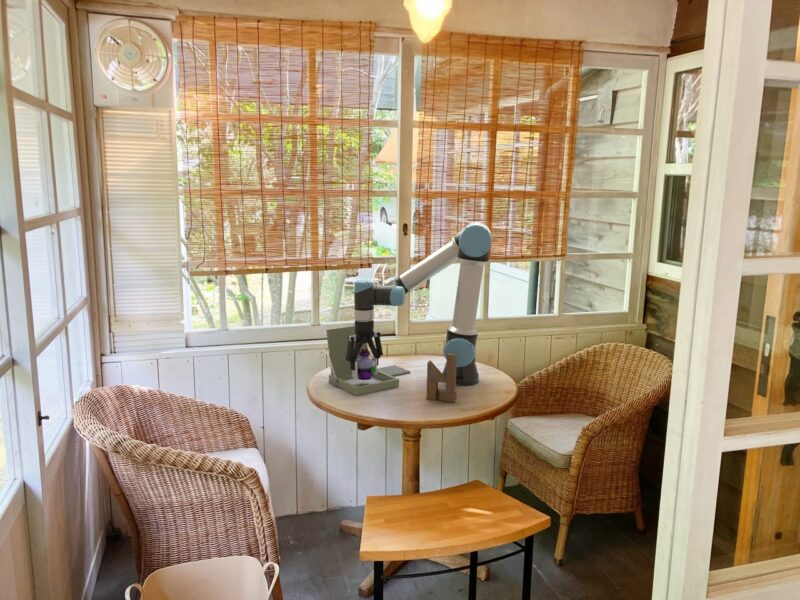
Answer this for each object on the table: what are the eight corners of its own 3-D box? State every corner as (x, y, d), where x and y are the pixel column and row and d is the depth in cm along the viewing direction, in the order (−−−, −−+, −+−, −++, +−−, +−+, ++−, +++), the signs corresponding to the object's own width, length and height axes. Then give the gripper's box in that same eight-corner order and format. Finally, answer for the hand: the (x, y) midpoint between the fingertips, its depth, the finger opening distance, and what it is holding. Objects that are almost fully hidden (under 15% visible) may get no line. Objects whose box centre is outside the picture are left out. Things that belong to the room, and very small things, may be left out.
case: (398, 386, 246) (399, 335, 242) (354, 396, 234) (354, 342, 230) (365, 371, 265) (365, 323, 261) (322, 380, 252) (322, 330, 249)
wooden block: (428, 396, 235) (430, 349, 232) (456, 400, 232) (458, 353, 229) (426, 399, 232) (427, 352, 229) (454, 403, 229) (456, 355, 225)
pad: (410, 373, 264) (410, 371, 264) (389, 377, 257) (389, 375, 257) (394, 366, 272) (394, 365, 272) (373, 370, 266) (373, 369, 266)
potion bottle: (374, 381, 243) (373, 351, 241) (352, 381, 244) (351, 351, 242) (377, 375, 251) (376, 346, 249) (355, 374, 252) (355, 345, 250)
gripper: (381, 314, 253) (381, 368, 257) (335, 321, 240) (336, 378, 244) (392, 317, 247) (392, 373, 251) (345, 325, 234) (346, 383, 238)
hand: (364, 375), depth 247 cm, fingers closed on potion bottle, 9 cm apart
